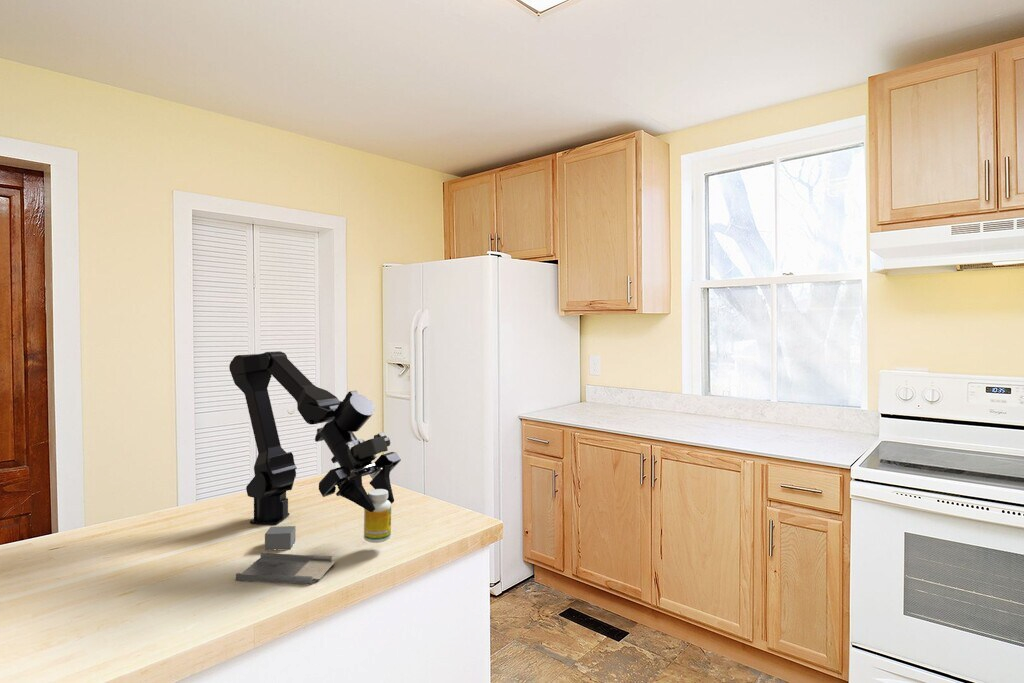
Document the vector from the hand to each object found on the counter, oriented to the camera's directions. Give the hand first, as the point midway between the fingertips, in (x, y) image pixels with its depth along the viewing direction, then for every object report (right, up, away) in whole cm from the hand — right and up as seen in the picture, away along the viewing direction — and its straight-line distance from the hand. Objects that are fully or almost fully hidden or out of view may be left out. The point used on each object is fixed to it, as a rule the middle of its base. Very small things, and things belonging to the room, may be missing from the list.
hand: (383, 506), depth 113 cm
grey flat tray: (-16, -9, -9) cm, 21 cm away
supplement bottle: (-1, -7, +1) cm, 7 cm away
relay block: (-22, -9, +2) cm, 24 cm away
